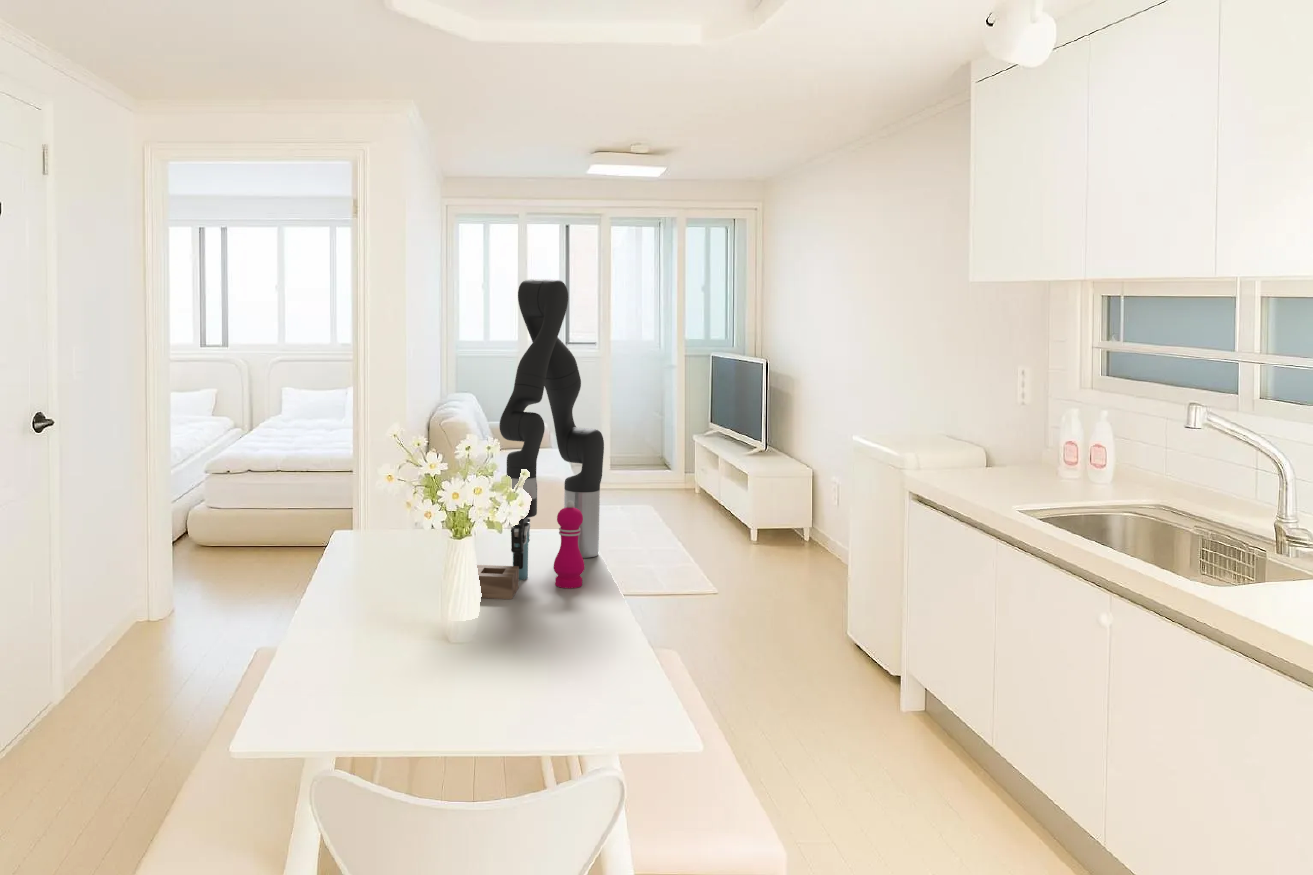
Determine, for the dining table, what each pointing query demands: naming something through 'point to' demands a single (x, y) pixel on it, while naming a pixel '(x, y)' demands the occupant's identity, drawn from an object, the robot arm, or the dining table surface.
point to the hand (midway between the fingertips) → (520, 565)
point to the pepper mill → (569, 548)
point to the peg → (524, 571)
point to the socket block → (498, 581)
